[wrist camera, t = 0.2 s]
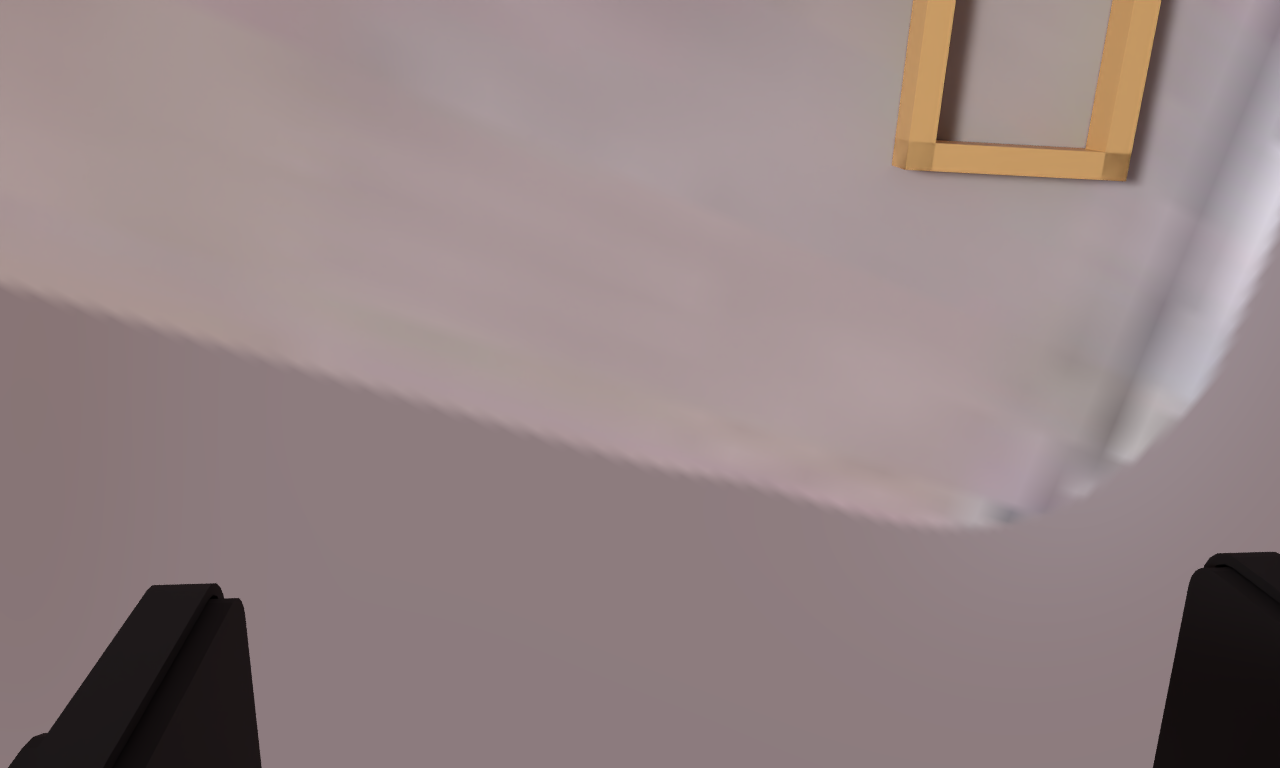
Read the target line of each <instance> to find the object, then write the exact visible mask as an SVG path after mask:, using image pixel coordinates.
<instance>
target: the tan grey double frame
mask: <svg viewBox="0 0 1280 768" xmlns="http://www.w3.org/2000/svg"><path fill="white" fill-rule="evenodd" d="M955 2H956V0H913V7H912V14H911V22H910V30H909V37H908V45H907V53H906V61H905V68H904V76H903V84H902V91H901V99H900V107H899V114H898V122H897V130H896V137H895V145H894V153H893V160H892V165H893V166H896V167H899V168H902V169H905V170H921V171H940V172H959V173H978V174H997V175H1017V176H1036V177H1055V178H1074V179H1093V180H1112V181H1126V178H1127V173H1128V168H1129V163H1130V158H1131V153H1132V147H1133V142H1134V137H1135V132H1136V127H1137V122H1138V117H1139V112H1140V107H1141V102H1142V96H1143V91H1144V86H1145V81H1146V76H1147V71H1148V66H1149V61H1150V56H1151V51H1152V45H1153V40H1154V35H1155V30H1156V25H1157V20H1158V15H1159V10H1160V5H1161V0H1113V1H1112V7H1111V12H1110V18H1109V23H1108V29H1107V34H1106V40H1105V45H1104V51H1103V56H1102V62H1101V67H1100V72H1099V78H1098V83H1097V89H1096V94H1095V100H1094V105H1093V111H1092V116H1091V122H1090V127H1089V133H1088V138H1087V143H1086V149H1085V148H1067V147H1049V146H1031V145H1013V144H995V143H978V142H960V141H942V140H936V137H937V130H938V123H939V116H940V109H941V101H942V94H943V87H944V80H945V73H946V66H947V59H948V52H949V45H950V38H951V31H952V24H953V17H954V10H955Z"/></svg>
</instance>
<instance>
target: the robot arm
mask: <svg viewBox="0 0 1280 768" xmlns="http://www.w3.org/2000/svg"><path fill="white" fill-rule="evenodd" d="M245 620H246V619H245V612H244V607H243V604H242V601H241V600H240V599H239V598H229V599H224V596H223V593H222V590H221V588H220V587H219V586H218V584H216V583H215V584H214V583H213V584H180V585H153V586H151V587H150V588H149V589H148V590H147V591H146V593H145V594H144V596H143V597H142V599H141V600H140V601H139V603H138V604H137V606H136V607H135V608H134V610H133V611H132V613H131V614H130V616H129V617H128V618H127V620H126V621H125V623H124V624H123V626H122V627H121V629H120V630H119V631H118V633H117V634H116V636H115V637H114V639H113V640H112V642H111V643H110V644H109V646H108V647H107V649H106V650H105V652H104V653H103V655H102V656H101V658H100V659H99V660H98V662H97V663H96V665H95V666H94V668H93V669H92V670H91V672H90V673H89V675H88V676H87V678H86V679H85V680H84V682H83V683H82V685H81V686H80V688H79V689H78V690H77V692H76V693H75V695H74V696H73V698H72V699H71V700H70V702H69V703H68V705H67V706H66V708H65V709H64V711H63V712H62V713H61V715H60V716H59V718H58V719H57V721H56V722H55V724H54V725H53V726H52V728H51V729H50V731H49V732H48V733H43V734H40V735H38V736H35V737H33V738H32V739H31V740H30V741H29V742H28V743H27V744H26V745H25V746H24V747H23V748H22V749H21V751H20V752H19V753H18V755H17V756H16V757H15V759H14V760H13V762H12V763H11V764H10V766H9V767H8V768H261V759H260V750H259V740H258V730H257V721H256V713H255V703H254V693H253V684H252V675H251V665H250V657H249V648H248V638H247V628H246V621H245ZM1153 768H1280V554H1278V553H1276V552H1250V553H1219V554H1218V553H1217V554H1215V555H1214V556H1212V557H1210V558H1209V560H1208V561H1207V563H1206V564H1205V565H1204V568H1201V569H1198V570H1197V571H1195V573H1194V574H1193V575H1192V577H1191V580H1190V583H1189V587H1188V591H1187V596H1186V602H1185V607H1184V612H1183V617H1182V622H1181V627H1180V632H1179V637H1178V643H1177V648H1176V653H1175V658H1174V663H1173V668H1172V673H1171V678H1170V684H1169V689H1168V694H1167V699H1166V704H1165V709H1164V714H1163V719H1162V724H1161V729H1160V734H1159V739H1158V744H1157V750H1156V755H1155V760H1154V765H1153Z"/></svg>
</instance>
